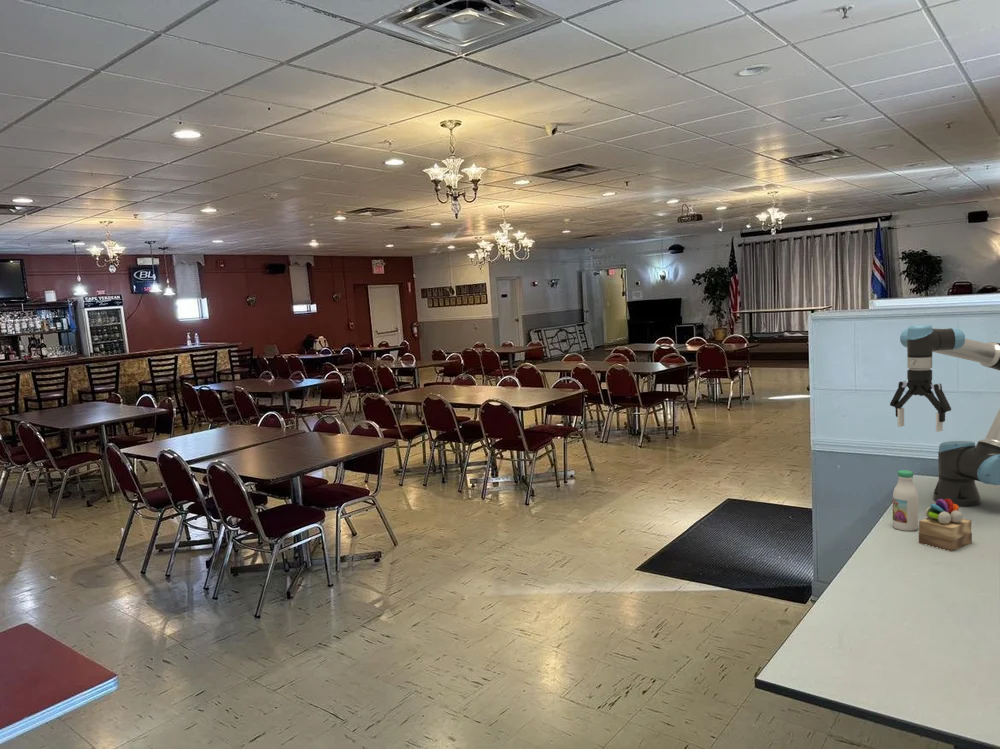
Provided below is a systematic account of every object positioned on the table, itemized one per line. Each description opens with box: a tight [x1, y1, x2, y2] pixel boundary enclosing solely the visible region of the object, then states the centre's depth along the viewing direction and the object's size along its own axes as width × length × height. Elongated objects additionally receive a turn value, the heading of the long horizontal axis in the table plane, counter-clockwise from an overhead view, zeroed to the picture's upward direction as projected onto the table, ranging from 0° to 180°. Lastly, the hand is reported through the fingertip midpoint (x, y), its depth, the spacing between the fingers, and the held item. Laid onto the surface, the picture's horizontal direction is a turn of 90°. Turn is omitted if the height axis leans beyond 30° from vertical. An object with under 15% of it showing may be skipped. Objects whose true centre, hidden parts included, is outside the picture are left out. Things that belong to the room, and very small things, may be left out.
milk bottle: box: [892, 469, 919, 532], centre depth 241 cm, size 8×8×20 cm
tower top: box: [918, 517, 972, 541], centre depth 225 cm, size 12×10×4 cm
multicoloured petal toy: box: [924, 499, 964, 524], centre depth 225 cm, size 8×10×7 cm
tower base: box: [918, 532, 973, 552], centre depth 225 cm, size 12×10×4 cm
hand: (919, 428), depth 247 cm, fingers open, 13 cm apart
